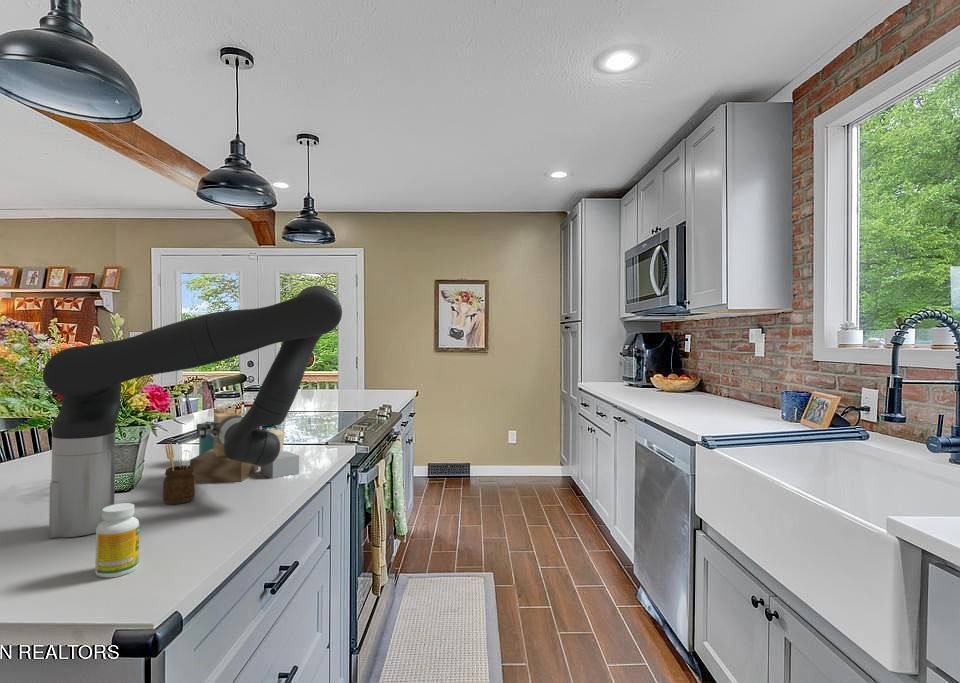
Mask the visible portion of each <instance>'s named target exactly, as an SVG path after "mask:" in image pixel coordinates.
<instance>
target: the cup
mask: <svg viewBox="0 0 960 683" xmlns="http://www.w3.org/2000/svg"><path fill="white" fill-rule="evenodd" d="M209 422H210V423H212V422H213V421H209ZM204 423H205V422H201V423H200V424H202V425H203V424H204ZM210 429H211V426H210ZM210 449H214V436H211V434H207V437H206V438H200V437H199V436H198V456H199V455H201V454H202V453H204V452H206V451H208V450H210Z"/></svg>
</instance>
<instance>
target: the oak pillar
mask: <svg viewBox="0 0 960 683" xmlns="http://www.w3.org/2000/svg"><path fill="white" fill-rule="evenodd" d="M230 416H241V415H240V414H238V413H237V412H226V413H224V412H223V413H214V414H213V422H222V421H223V420H224V419H225V418H227V417H230ZM217 426H218V425H217ZM213 453H214V454H215V455H216V456H217V457H221V456H226V455H225V453H224V446H223V445H222V444H221V443H220V441H219V440H218V438H217V437H214V451H213Z"/></svg>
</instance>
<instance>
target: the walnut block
mask: <svg viewBox="0 0 960 683" xmlns="http://www.w3.org/2000/svg"><path fill="white" fill-rule="evenodd" d="M213 451H214V449H210V450H208V451H206V452H204V453H202V454H201V455H199V454H198V455H197V456H194V457H192V458H190V460H189V466H192V467H193V473H192V474H193V475H194V478H195V484H219V483H222V484H223V483H224V482H241V483H243V482H244V481H245V480H246V479H248V478H249V477H251V476H252V475H253V474H255V473H256V472H257V471H258V470H259V466H257V465H253V464H249V463H244V462H239V461H235V460H231V459H229V458H227V457H226V456H221V457H217V456H216V455H215V454H214V453H213ZM190 462H191V463H190ZM242 481H243V482H242ZM224 484H225V483H224Z"/></svg>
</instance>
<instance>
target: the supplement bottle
mask: <svg viewBox="0 0 960 683" xmlns="http://www.w3.org/2000/svg"><path fill="white" fill-rule="evenodd" d="M134 514H135V504H133V503H128V502H124V503H123V502H121V503H114V505H110V506H107V507H105V508H103V509H102V519H103V520H104V521H102V522H101V523H100V524H99V525H98V526H97V528H96V533H95V566H94V570H95V574H96V576H97V577H98V578H109V579H110V578H118V577H122V576H124V575H128V574H130V573H132V572H134V571H135V570H136V569H137V568H138V567H139V562H140V561H139V560H140V557H139V550H140V521H139V519H138V518H136V517H135V516H134Z"/></svg>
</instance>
